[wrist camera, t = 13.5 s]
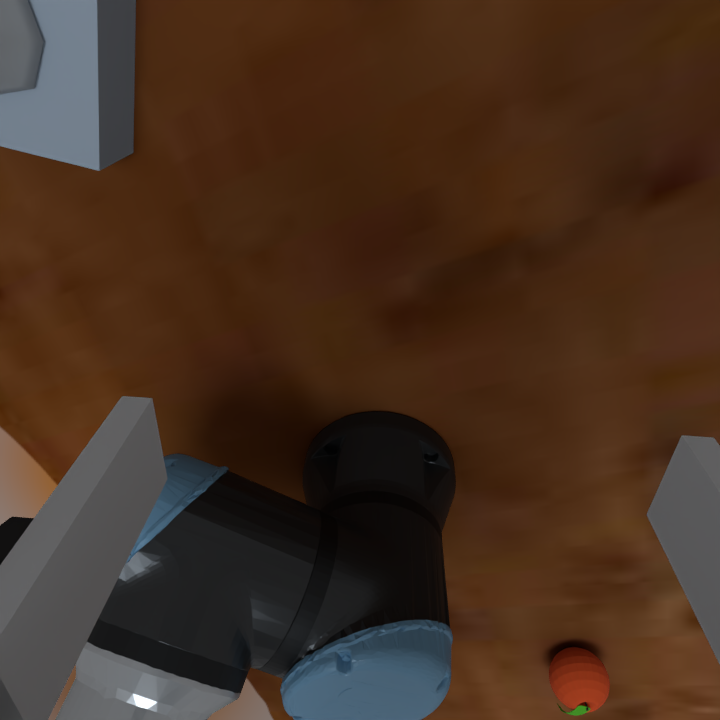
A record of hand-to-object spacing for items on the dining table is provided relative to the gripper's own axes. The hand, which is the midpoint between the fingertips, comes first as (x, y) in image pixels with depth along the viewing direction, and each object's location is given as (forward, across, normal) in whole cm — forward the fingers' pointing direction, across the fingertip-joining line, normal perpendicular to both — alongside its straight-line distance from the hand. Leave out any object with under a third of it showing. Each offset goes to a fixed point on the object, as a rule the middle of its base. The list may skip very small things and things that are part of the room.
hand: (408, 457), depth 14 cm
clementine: (+32, -26, +59) cm, 72 cm away
